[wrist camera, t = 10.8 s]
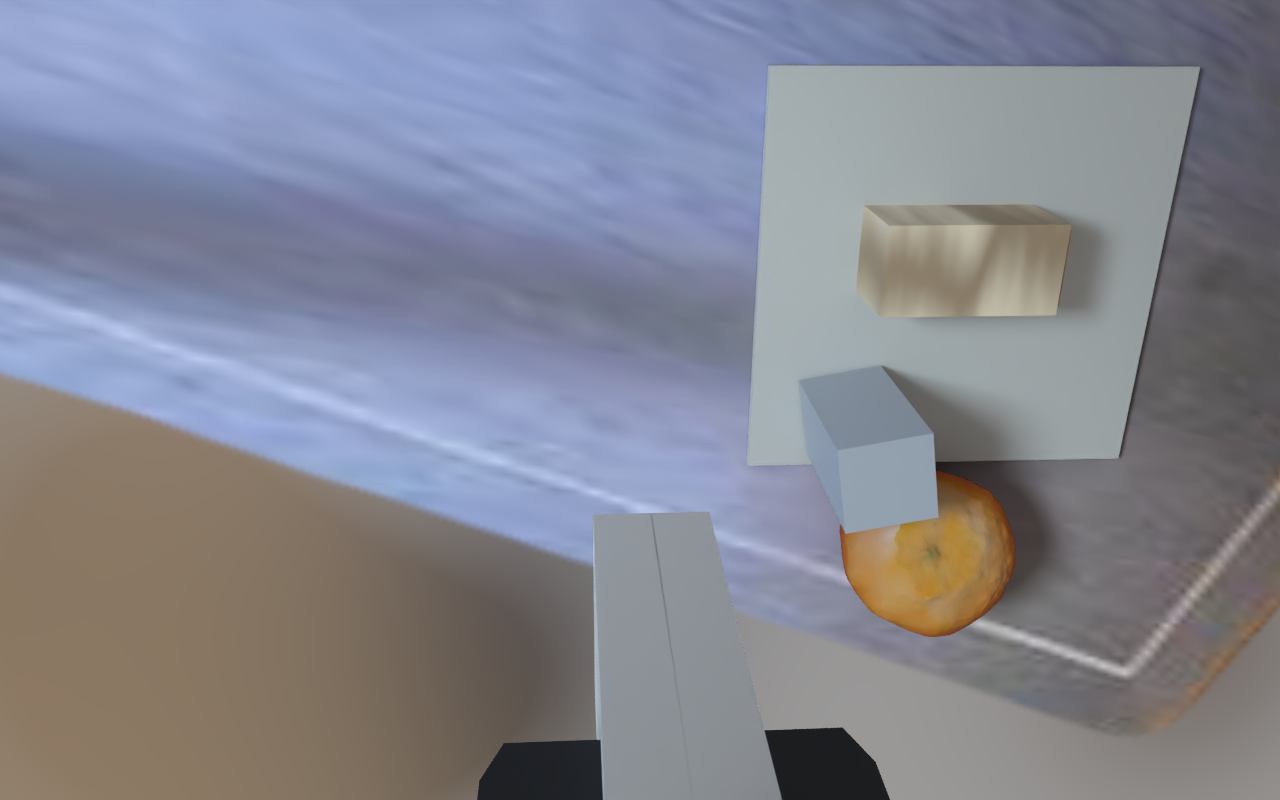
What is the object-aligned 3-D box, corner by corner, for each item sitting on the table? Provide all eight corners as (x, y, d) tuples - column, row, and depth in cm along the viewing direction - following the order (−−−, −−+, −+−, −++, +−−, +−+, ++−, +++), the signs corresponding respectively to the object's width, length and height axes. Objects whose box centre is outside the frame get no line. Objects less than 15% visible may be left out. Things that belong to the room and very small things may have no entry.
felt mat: (768, 64, 44) (769, 65, 44) (1195, 66, 45) (1200, 67, 45) (746, 462, 52) (747, 465, 51) (1114, 454, 53) (1118, 458, 52)
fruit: (885, 647, 55) (893, 673, 47) (817, 512, 56) (813, 516, 48) (1026, 582, 54) (1058, 598, 46) (953, 446, 55) (973, 439, 47)
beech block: (1036, 204, 47) (863, 205, 46) (1076, 224, 43) (889, 225, 43) (1023, 288, 48) (855, 290, 48) (1060, 315, 45) (879, 317, 44)
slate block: (797, 378, 50) (837, 450, 42) (879, 364, 50) (933, 433, 42) (806, 452, 51) (845, 533, 44) (885, 438, 51) (938, 517, 44)
